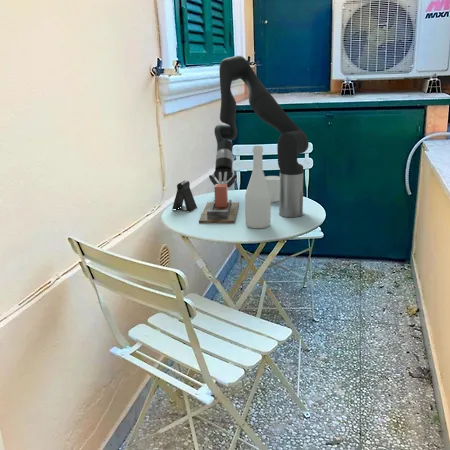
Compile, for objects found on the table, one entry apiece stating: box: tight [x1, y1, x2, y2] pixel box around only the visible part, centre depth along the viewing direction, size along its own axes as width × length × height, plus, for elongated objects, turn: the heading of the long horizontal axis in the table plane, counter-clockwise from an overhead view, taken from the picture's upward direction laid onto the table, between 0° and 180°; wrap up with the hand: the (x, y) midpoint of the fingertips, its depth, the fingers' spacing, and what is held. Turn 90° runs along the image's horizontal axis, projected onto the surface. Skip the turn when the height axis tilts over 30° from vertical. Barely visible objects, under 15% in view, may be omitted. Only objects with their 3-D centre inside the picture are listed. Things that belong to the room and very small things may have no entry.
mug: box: [265, 175, 280, 203], centre depth 200 cm, size 12×8×10 cm
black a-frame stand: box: [172, 180, 198, 213], centre depth 189 cm, size 9×6×12 cm, turn 67°
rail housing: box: [198, 199, 240, 224], centre depth 183 cm, size 14×26×4 cm, turn 175°
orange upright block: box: [214, 183, 229, 207], centre depth 188 cm, size 5×5×9 cm
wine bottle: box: [244, 145, 272, 230], centre depth 164 cm, size 10×10×30 cm
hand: (222, 194), depth 191 cm, fingers closed
